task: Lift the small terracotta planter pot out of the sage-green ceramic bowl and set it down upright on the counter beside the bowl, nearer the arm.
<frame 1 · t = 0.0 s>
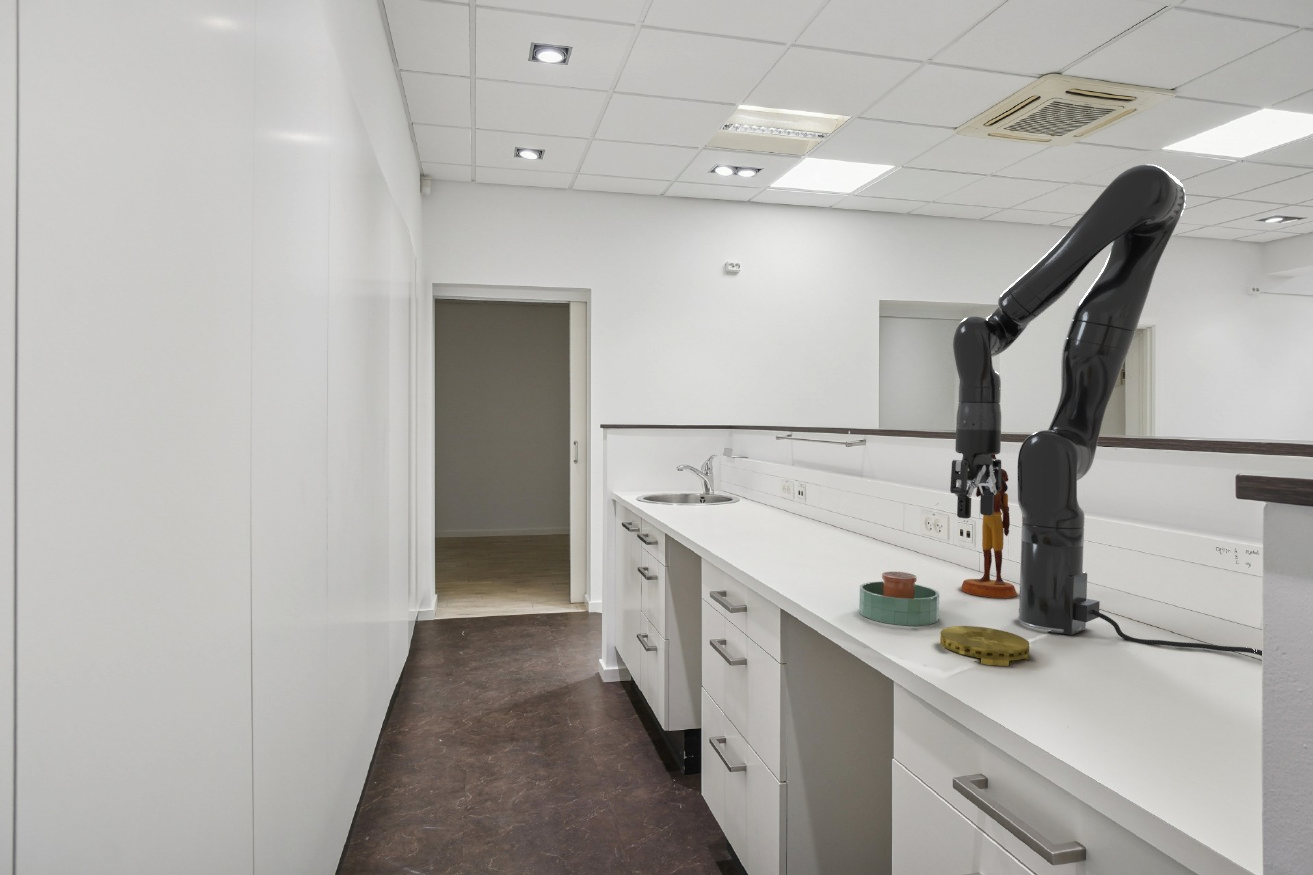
hand: (975, 516, 131), 17 cm above the worktop, tool pointing down, fingers open, 8 cm apart
olive yellow slotted disc: (983, 653, 107), on the worktop
bowl: (897, 618, 124), on the worktop
planter: (898, 614, 124), point 1 cm above the worktop, touching bowl
sculpture: (988, 593, 145), on the worktop
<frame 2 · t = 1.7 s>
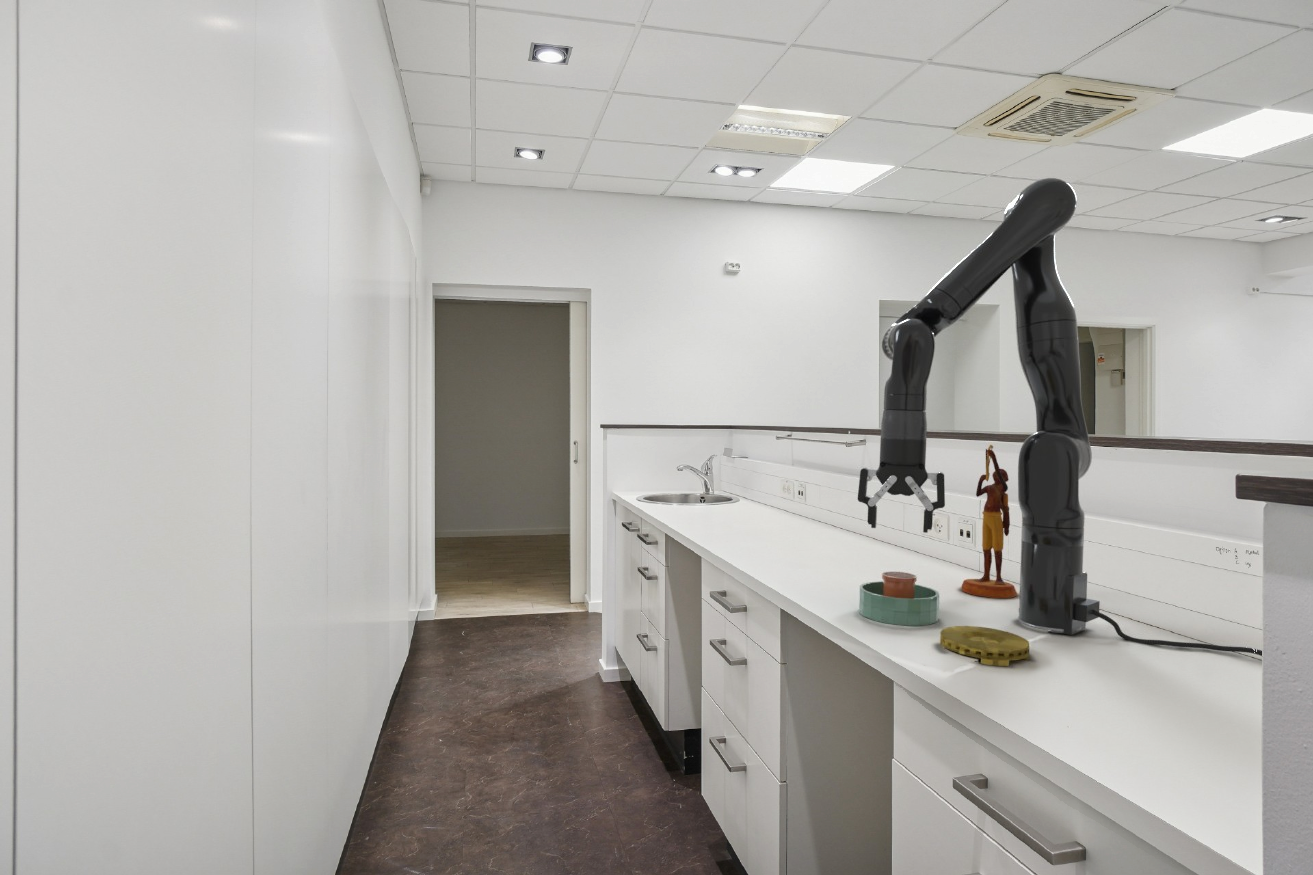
hand: (899, 529, 124), 15 cm above the worktop, tool pointing down, fingers open, 8 cm apart
nothing on the worktop moved.
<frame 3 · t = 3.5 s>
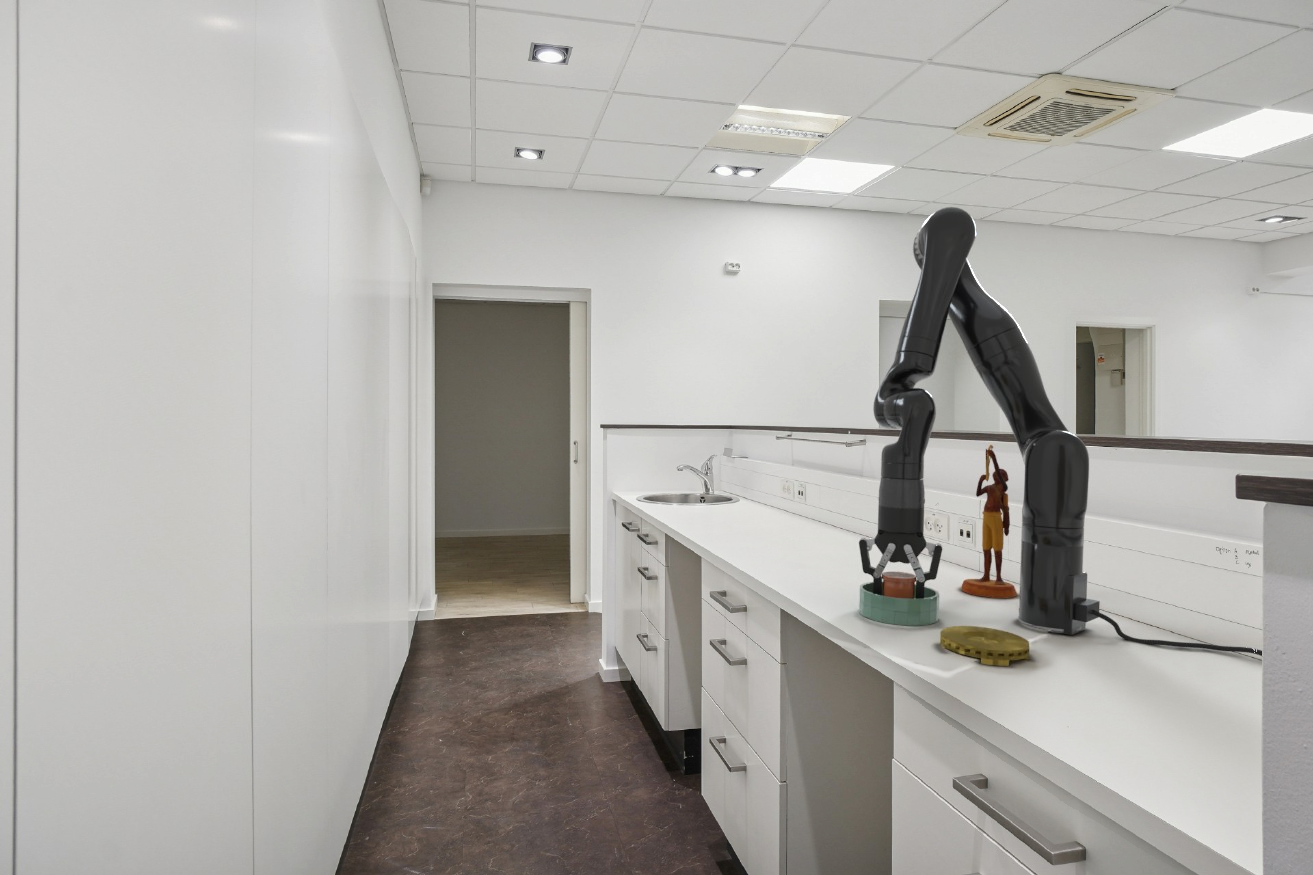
hand: (898, 600, 124), 3 cm above the worktop, tool pointing down, fingers closed on planter, 5 cm apart
planter: (898, 614, 124), point 1 cm above the worktop, touching bowl, gripper
everything else where it was.
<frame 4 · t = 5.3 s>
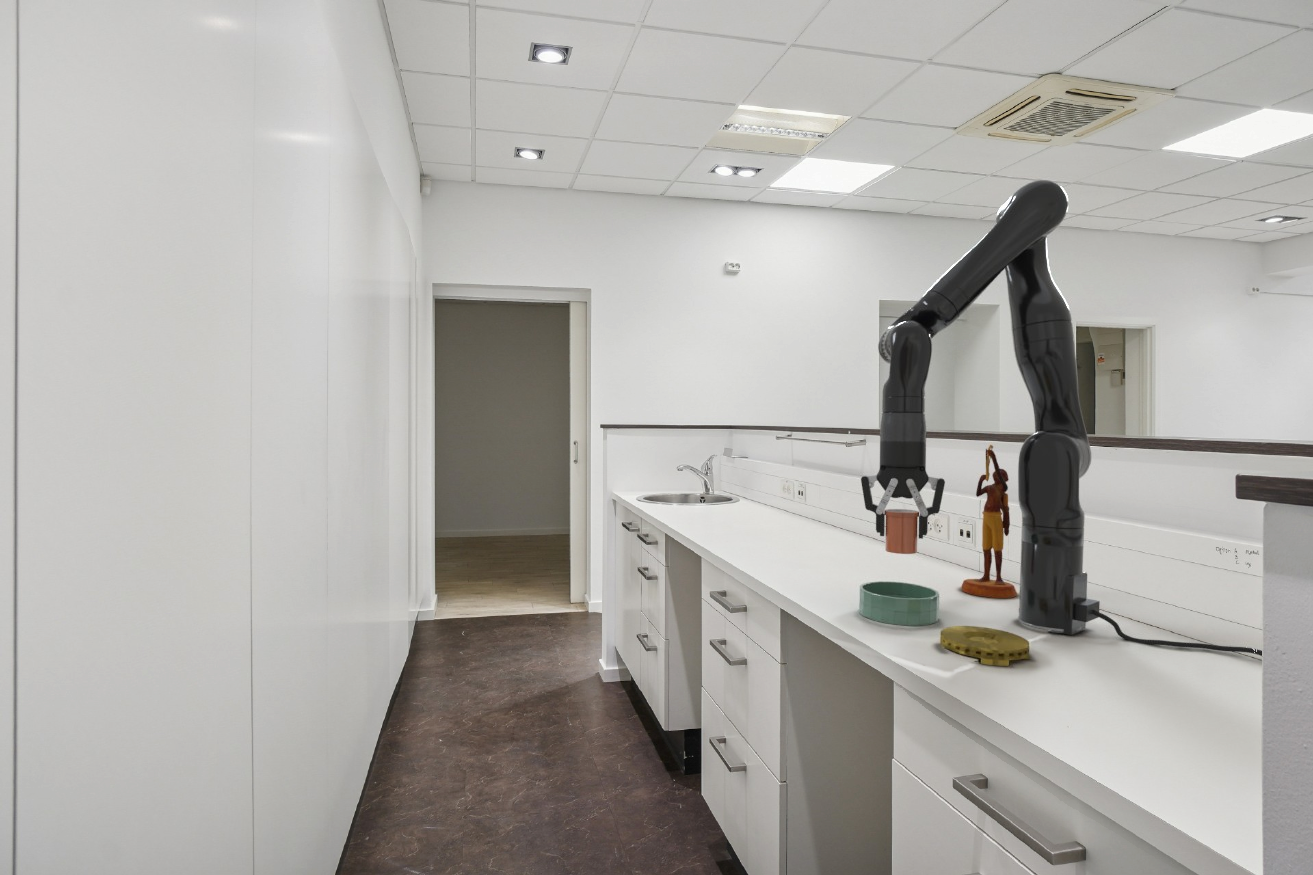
hand: (901, 536, 124), 14 cm above the worktop, tool pointing down, fingers closed on planter, 5 cm apart
planter: (901, 551, 124), point 12 cm above the worktop, touching gripper
everything else where it was.
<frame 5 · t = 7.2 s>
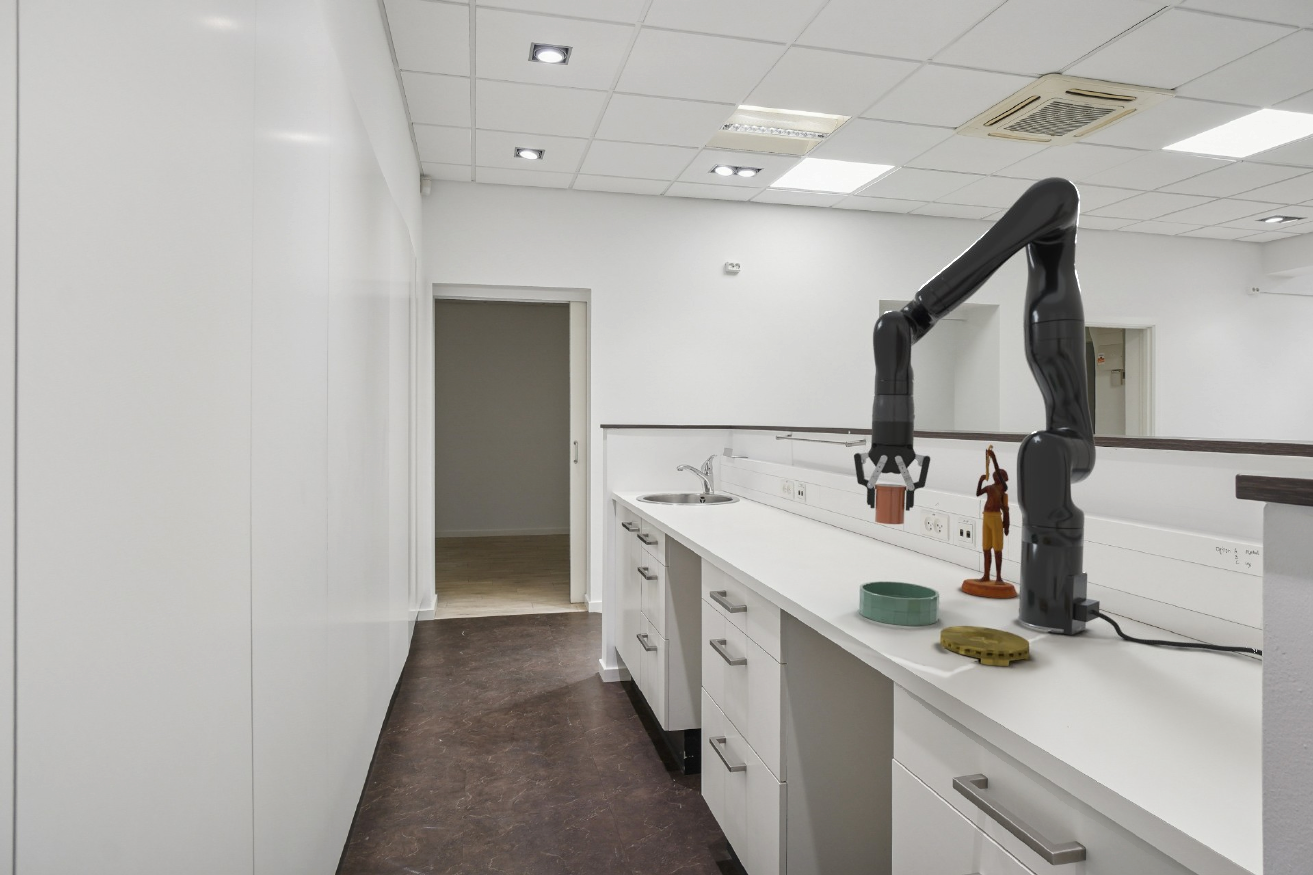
hand: (890, 508, 135), 18 cm above the worktop, tool pointing down, fingers closed on planter, 5 cm apart
planter: (889, 522, 135), point 15 cm above the worktop, touching gripper
everything else where it was.
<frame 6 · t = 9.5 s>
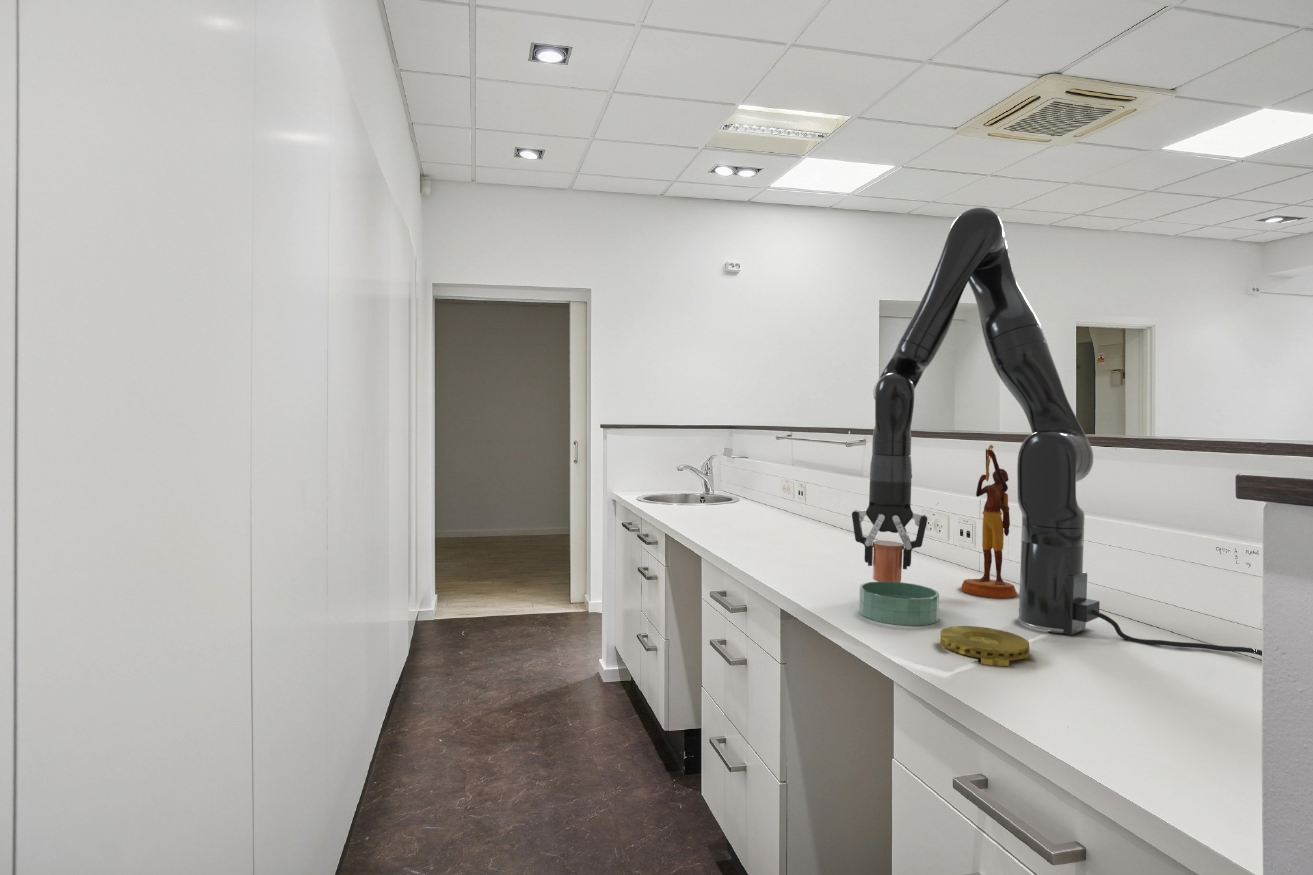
hand: (887, 566, 136), 7 cm above the worktop, tool pointing down, fingers closed on planter, 5 cm apart
planter: (886, 579, 136), point 4 cm above the worktop, touching gripper
everything else where it was.
when the fingers open (3 cm above the worktop, at t = 11.0 s): planter stays where it is, on the worktop.
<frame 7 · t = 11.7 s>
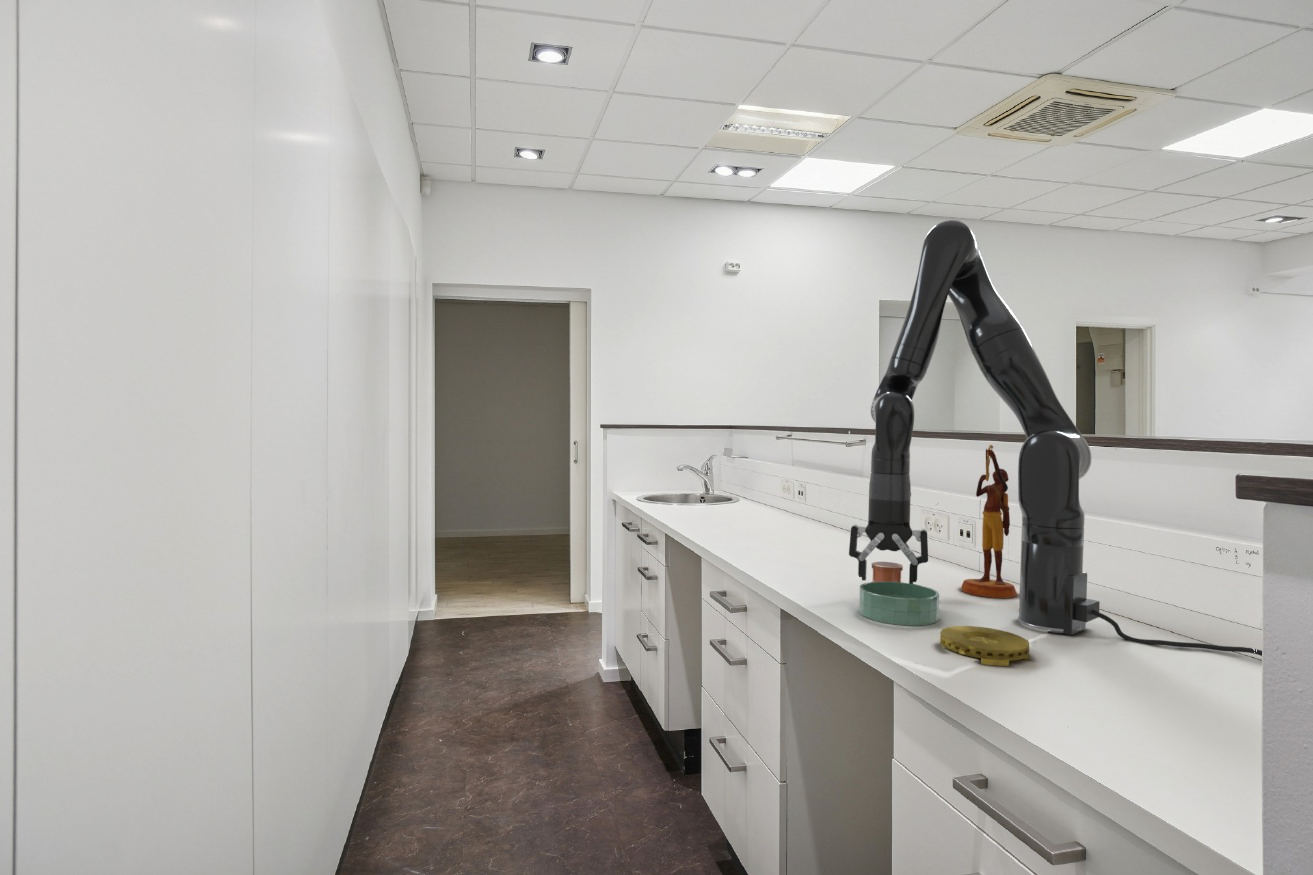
hand: (887, 581, 136), 4 cm above the worktop, tool pointing down, fingers open, 8 cm apart
planter: (886, 600, 137), on the worktop
everything else where it was.
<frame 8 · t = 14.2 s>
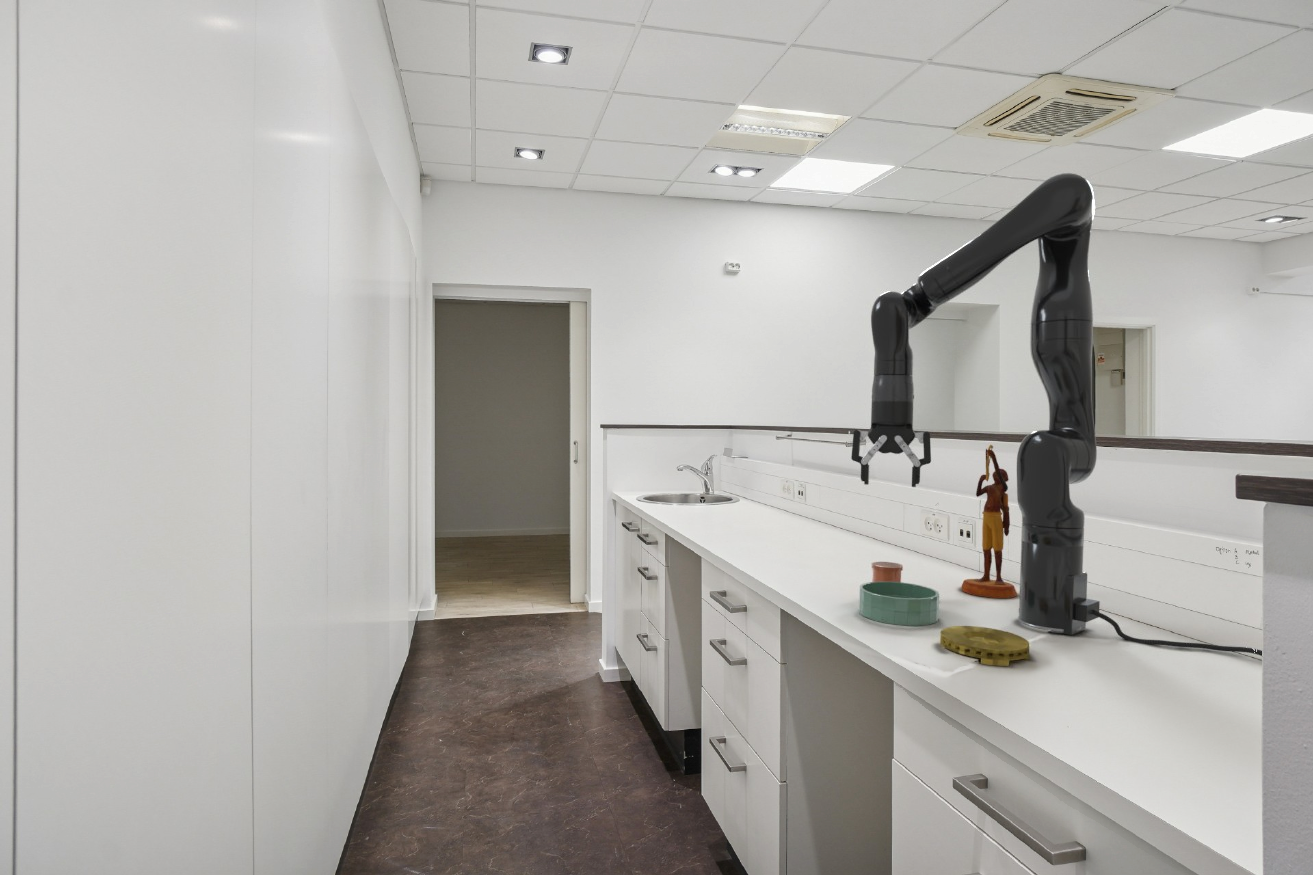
hand: (889, 485, 136), 22 cm above the worktop, tool pointing down, fingers open, 8 cm apart
nothing on the worktop moved.
at the end: planter inside the target area (0.4 cm from its centre), on the worktop; planter tilted 0°; planter touching worktop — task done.
